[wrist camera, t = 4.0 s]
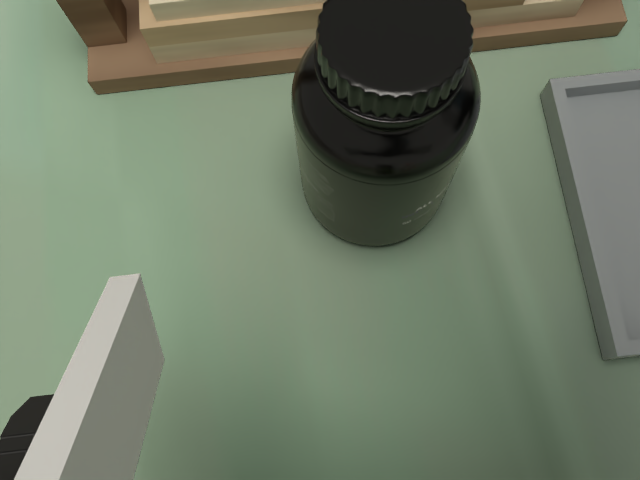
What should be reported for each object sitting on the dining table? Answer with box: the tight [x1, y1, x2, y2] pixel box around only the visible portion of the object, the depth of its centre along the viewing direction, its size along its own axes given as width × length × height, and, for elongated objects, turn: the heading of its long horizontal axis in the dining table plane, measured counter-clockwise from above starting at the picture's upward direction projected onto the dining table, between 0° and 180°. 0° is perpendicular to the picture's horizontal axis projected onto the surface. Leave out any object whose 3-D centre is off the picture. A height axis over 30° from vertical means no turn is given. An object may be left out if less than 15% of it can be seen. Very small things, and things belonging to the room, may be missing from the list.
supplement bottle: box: [292, 0, 481, 246], centre depth 24 cm, size 7×7×12 cm
